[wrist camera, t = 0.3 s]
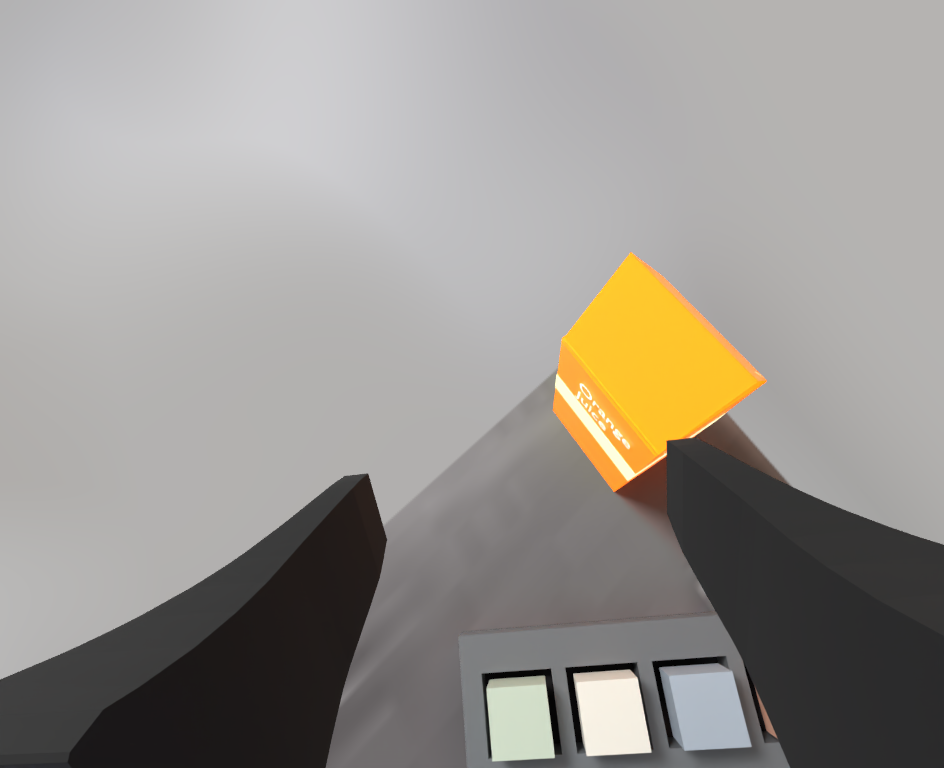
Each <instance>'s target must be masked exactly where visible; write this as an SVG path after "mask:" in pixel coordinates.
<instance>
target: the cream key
mask: <svg viewBox="0 0 944 768" xmlns="http://www.w3.org/2000/svg"><path fill="white" fill-rule="evenodd" d="M573 677H574V684H575V691H576V698H577V705H578V711H579V718H580V725H581V732H582V739H583V744H584V748H585V751H586V755H587V756H600V755H618V754H636V753H652V752H651V747H650V741H649V736H648V731H647V726H646V720H645V715H644V710H643V704H642V699H641V694H640V689H639V683H638V678H637V677H636V676H635V675H634V673H633V672H632V671H631V670H630V669H629V670H615V671H601V672H587V673H573Z"/></svg>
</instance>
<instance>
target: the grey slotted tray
mask: <svg viewBox="0 0 944 768" xmlns="http://www.w3.org/2000/svg"><path fill="white" fill-rule="evenodd" d="M458 638H459V653H460V668H461V683H462V698H463V713H464V728H465V743H466V758H467V768H790V766H789V764H788V762H787V759H786V757H785V755H784V752H783V750H782V748H781V745H780V743H779V741H778V739H777V738H776V737H774V736H773V735H772V734H770V733H769V732H768V731H765V732H761V728H760V724H759V720H758V717H757V713H756V709H755V705H754V701H753V698H752V694H751V690H750V686H749V683H748V679H747V675H746V671H745V668H744V664H743V660H742V658H741V656H740V654H739V652H738V650H737V648H736V646H735V644H734V643H733V641H732V639H731V637H730V635H729V634H728V632H727V630H726V628H725V627H724V625H723V623H722V621H721V620H720V618H719V616H718V614H717V612H703V613H691V614H678V615H666V616H654V617H641V618H629V619H617V620H604V621H592V622H579V623H567V624H555V625H542V626H530V627H518V628H505V629H493V630H480V631H468V632H462V633H461V634H460V635H459V636H458ZM716 656H717V659H718V664H720V665H722V666H724V667H726V668H727V669H729V670H731V671H732V672H733V676H734V680H735V684H736V687H737V691H738V695H739V699H740V703H741V707H742V711H743V715H744V719H745V723H746V726H747V730H748V734H749V738H750V742H751V746H752V747H743V748H725V749H707V750H689V751H684V749H683V748H682V747H681V746H680V744H679V743H678V742H677V740H676V739H675V738H674V737H667V734H666V729H665V724H664V719H663V714H662V709H661V705H660V700H659V695H658V690H657V685H656V680H655V675H654V670H653V665H652V661H661V660H675V659H688V658H702V657H716ZM619 663H633V667H634V673H635V676H636V677H637V678H638V683H639V689H640V694H641V699H642V704H643V710H644V715H645V720H646V726H647V731H648V736H649V741H650V747H651V752H652V753H636V754H618V755H600V756H587V755H586V751H585V748H584V744H583V742H577V743H576V740H575V733H574V726H573V719H572V712H571V705H570V698H569V690H568V683H567V676H566V669H565V667H578V666H592V665H606V664H619ZM537 669H551V673H552V680H553V688H554V696H555V704H556V711H557V719H558V727H559V734H560V742H561V743H560V744H554V753H555V758H546V759H528V760H510V761H493V762H492V750H491V742H490V730H489V718H488V706H487V694H486V682H485V673H496V672H509V671H523V670H537Z"/></svg>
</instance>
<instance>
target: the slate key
mask: <svg viewBox="0 0 944 768" xmlns="http://www.w3.org/2000/svg"><path fill="white" fill-rule="evenodd" d="M659 670H660V675H661V680H662V685H663V689H664V694H665V699H666V704H667V709H668V714H669V719H670V723H671V728H672V733H673V737H674V738H675V739H676V740H677V742H678V743H679V744H680V746H681V747H682V748H683V749H684V751H689V750H707V749H725V748H743V747H752V746H751V742H750V738H749V734H748V730H747V726H746V723H745V719H744V715H743V711H742V707H741V703H740V699H739V695H738V691H737V687H736V684H735V680H734V676H733V672H732V671H731V670H729V669H727V668H726V667H724V666H722V665H720V664H718V663H713V664H699V665H685V666H671V667H659Z"/></svg>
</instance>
